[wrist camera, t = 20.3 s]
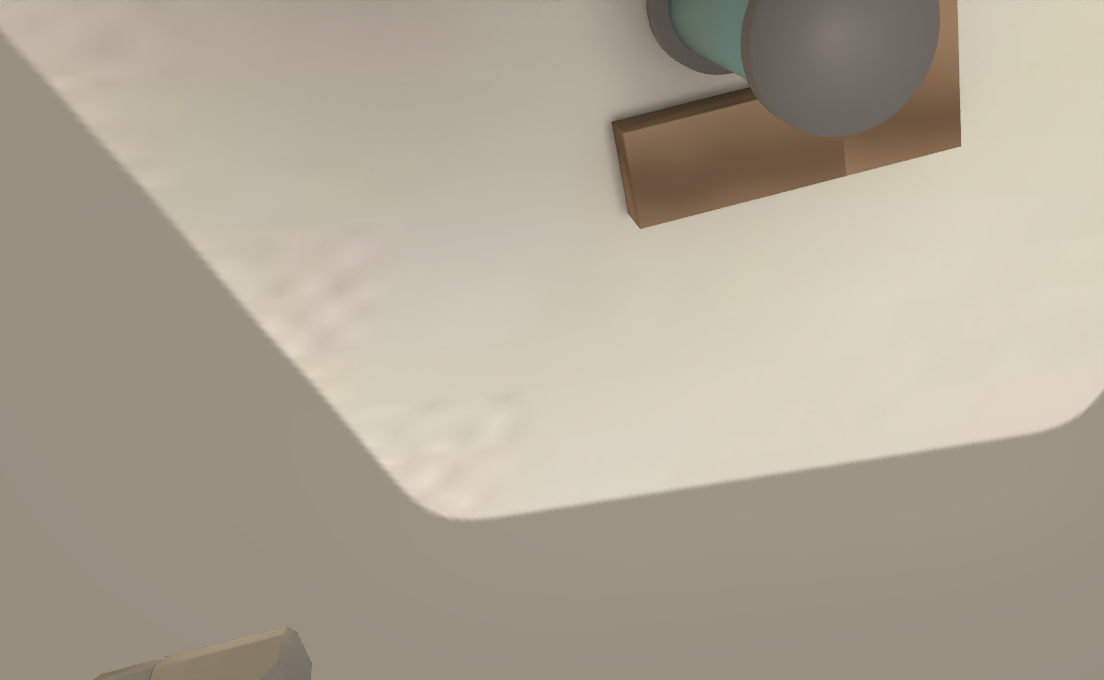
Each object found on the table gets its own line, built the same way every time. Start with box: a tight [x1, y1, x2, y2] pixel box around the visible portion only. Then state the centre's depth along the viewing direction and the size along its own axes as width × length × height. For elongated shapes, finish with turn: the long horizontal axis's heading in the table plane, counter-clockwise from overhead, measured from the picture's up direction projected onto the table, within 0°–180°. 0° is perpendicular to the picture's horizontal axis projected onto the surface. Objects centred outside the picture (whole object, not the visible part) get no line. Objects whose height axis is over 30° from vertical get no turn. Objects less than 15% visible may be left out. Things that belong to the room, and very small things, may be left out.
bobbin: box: [647, 0, 940, 137], centre depth 34 cm, size 6×6×12 cm
